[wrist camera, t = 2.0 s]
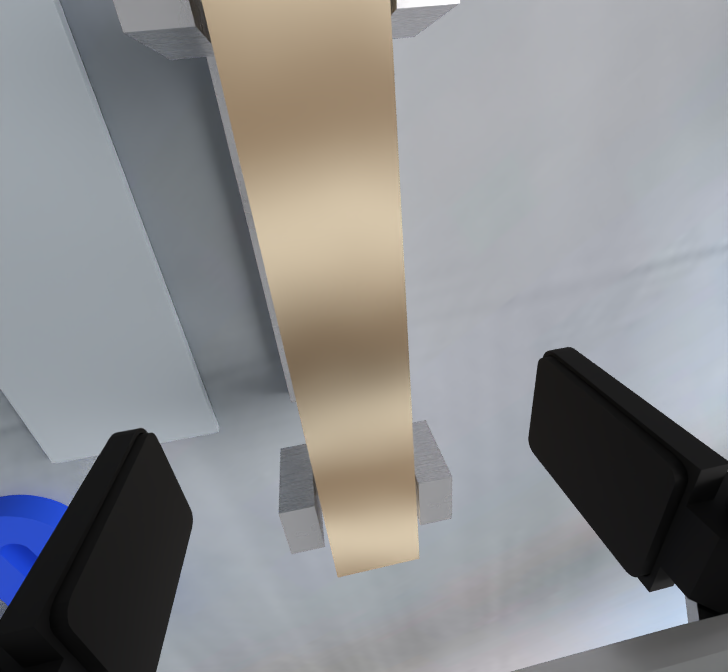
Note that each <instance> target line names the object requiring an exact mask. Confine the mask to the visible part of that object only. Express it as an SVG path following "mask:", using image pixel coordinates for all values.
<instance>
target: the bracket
mask: <svg viewBox="0 0 728 672" xmlns="http://www.w3.org/2000/svg"><path fill="white" fill-rule="evenodd" d="M67 508H68V506H66V505H64V504H62V503H60V502H57V501H54V500H51V499H48V498H44V497H38V496H31V495H10V496H3V497H0V599H1V600H2V601H3V602H5V603H6V604H7V606H9V604H10V603H11V601H12V599H13V598H14V596H15V594H16V593H17V591H18V589H19V588H20V586H21V584H22V583H23V581H24V579H25V578H26V576H27V574H28V573H29V571H30V569H31V568H32V566H33V564H34V563H35V561H36V559H37V558H38V556H39V554H40V553H41V551H42V549H43V548H44V546H45V544H46V543H47V541H48V539H49V538H50V536H51V534H52V533H53V531H54V530H55V528H56V526H57V525H58V523H59V521H60V520H61V518H62V516H63V515H64V513H65V511H66V510H67Z"/></svg>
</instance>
